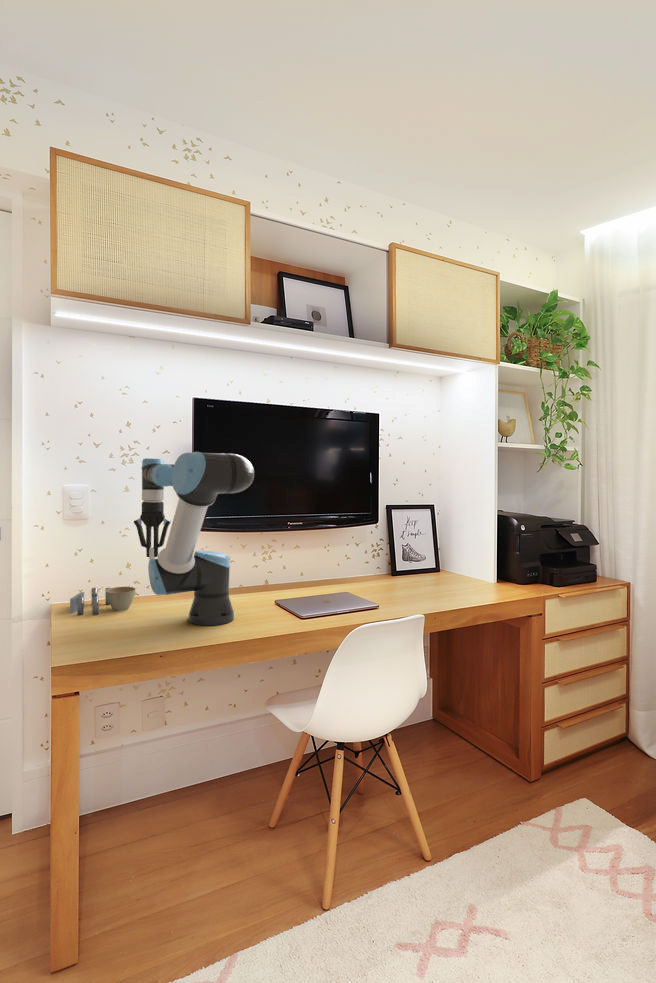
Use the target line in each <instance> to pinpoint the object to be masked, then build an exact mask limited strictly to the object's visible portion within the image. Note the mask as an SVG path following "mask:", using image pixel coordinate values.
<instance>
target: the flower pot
mask: <svg viewBox="0 0 656 983" xmlns="http://www.w3.org/2000/svg"><path fill="white" fill-rule="evenodd" d="M109 588H110V589H107V590H106V595H107V599H108V601H109V603H110V605H109V606H110V607H111V609H113V611H117V612H119V611H121V612H122V611H127V610H129V609H130V606H131V605H132V602H134V599H135V594H136V587H133V586H115V587H109Z"/></svg>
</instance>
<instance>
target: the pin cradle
mask: <svg viewBox="0 0 656 983" xmlns="http://www.w3.org/2000/svg"><path fill="white" fill-rule="evenodd" d="M110 588H111V587H106V588H105V589H104V590H105V592H104V594H105V598H104V599H105V600H104V602H105V605H107V606H111V605H110V603H109V601H108V599H107V595H106V590H107V589H110ZM99 598H100V597H99V596H98V587H92V588H91V606H92V608H91V610H92V616H99V615H100V614H99V612H100V609H99V607H100V606H99V605H100V604H99V603H100V601H99ZM69 606H70V607H69V613H70V614H75V613H76V612H77V613H76V614H77V616H83V615H84V614H85V613H84V611H85V610H84V609H85V592H84V591H80V592H79V593H78V594H77V593H76V595H74V596H72V597H71V598H69Z"/></svg>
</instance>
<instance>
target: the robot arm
mask: <svg viewBox="0 0 656 983" xmlns="http://www.w3.org/2000/svg"><path fill="white" fill-rule="evenodd" d="M141 461H142V462H141V468H140V469H141V500H142V502H141V514H140V517H139V518H137V519H135V520H133V524H134V525H135V527H136V530H137V534H138V539H139V542H140V546H141V547H143V548H145V550H146V558H149V559H148V566H147V568H148V578H149V584H150V588H151V591H152V592H153V593H154V594H155V595H157V596H163V595H164V596H167V595H174V594H175V595H176V594H183V593H189V592H191V593H192V592H193V595H194V597H193V600H192V603H191V606H190V609H189V612H188V622H189V623H191V624H192V625H198V626H219V625H224V624H228V623H231V622H232V621H234V619H235V611H234V608H233V605H232V602H231V598H230V569H231V566H230V558H229V555H228V554H226V553H224V552H218V551H213V550H211V551H210V550H195V548H196V545H197V543H198V540H199V535H200V533H201V530H202V526H203V524H204V521H205V517H206V514H207V511H208V508H209V506H212V505H213V504H214V503H215V502H216V500H217V497H218V495H219V494H221V495H222V494H237V493H240V492H243V491H245V490H246V489H248V488H249V487H251V485H252V484H253V481H254V479H255V469H254V466H253V464H252V463H251V461H249V460H248V459H247V457H244V456H243V455H239V454H236V453H218V452H217V453H216V452H214V453H213V452H211V453H210V452H200V451H193V452H184V453H181V454H180V455H178V457H177V458H176V460H175V463H174V464H168V463H164V462H165V461H164V459H163V458H143V459H142V460H141ZM165 487H172V488H173V490H174V493H176V496H177V497H178V500H177V501H178V502H177V505H176V509H175V511H174V512H175V514H174V516H173V519H172V520H171V519H170V520H169V519H168V518H166V516H165V513H164V507H165V506H164V505H165V504H164V499H165V498H164V497H165V496H164V494H165V493H164V492H165V490H164V488H165ZM142 523H143V524H144V526H145V530H146V531H145V533H146V534H145V533H144V530H143V526H142ZM162 523H163V524H162ZM161 524H162V525H163V528H162V531H161V535H159V533H160V532H159V529H160V525H161ZM170 525H171V527H170V530H169V535H168V537H167V532H168V529H169V526H170ZM152 530H153V547H152ZM145 535H146V538H145ZM159 536H160V538H159ZM166 537H167V541H166V540H165V539H166ZM165 541H166V545H165V547H164V548H163V549H161V550H160V551H159V548H161V547H163V546H164V544H165Z"/></svg>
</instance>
